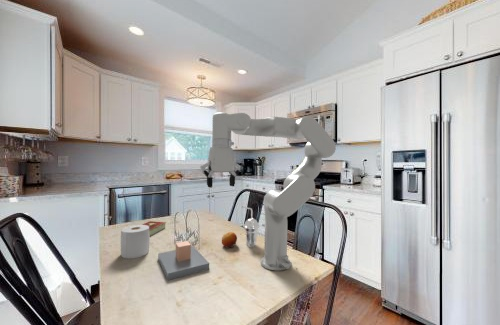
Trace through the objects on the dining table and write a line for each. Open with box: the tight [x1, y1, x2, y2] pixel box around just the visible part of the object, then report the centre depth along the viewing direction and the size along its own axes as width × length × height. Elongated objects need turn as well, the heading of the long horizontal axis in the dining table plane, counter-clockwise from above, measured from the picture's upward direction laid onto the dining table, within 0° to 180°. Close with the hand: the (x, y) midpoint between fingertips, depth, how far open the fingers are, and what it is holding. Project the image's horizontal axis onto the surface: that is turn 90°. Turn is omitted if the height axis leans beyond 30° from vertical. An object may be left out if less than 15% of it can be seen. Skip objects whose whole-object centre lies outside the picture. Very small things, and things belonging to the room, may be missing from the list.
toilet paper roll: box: [120, 224, 150, 259], centre depth 103 cm, size 12×12×12 cm
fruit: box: [221, 231, 238, 248], centre depth 113 cm, size 8×8×8 cm
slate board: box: [157, 246, 210, 281], centre depth 93 cm, size 20×16×2 cm
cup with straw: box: [241, 206, 261, 248], centre depth 114 cm, size 8×9×20 cm
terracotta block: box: [175, 240, 192, 262], centre depth 93 cm, size 5×5×6 cm
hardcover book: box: [141, 220, 167, 237], centre depth 133 cm, size 12×21×4 cm, turn 170°
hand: (221, 186), depth 89 cm, fingers open, 9 cm apart
